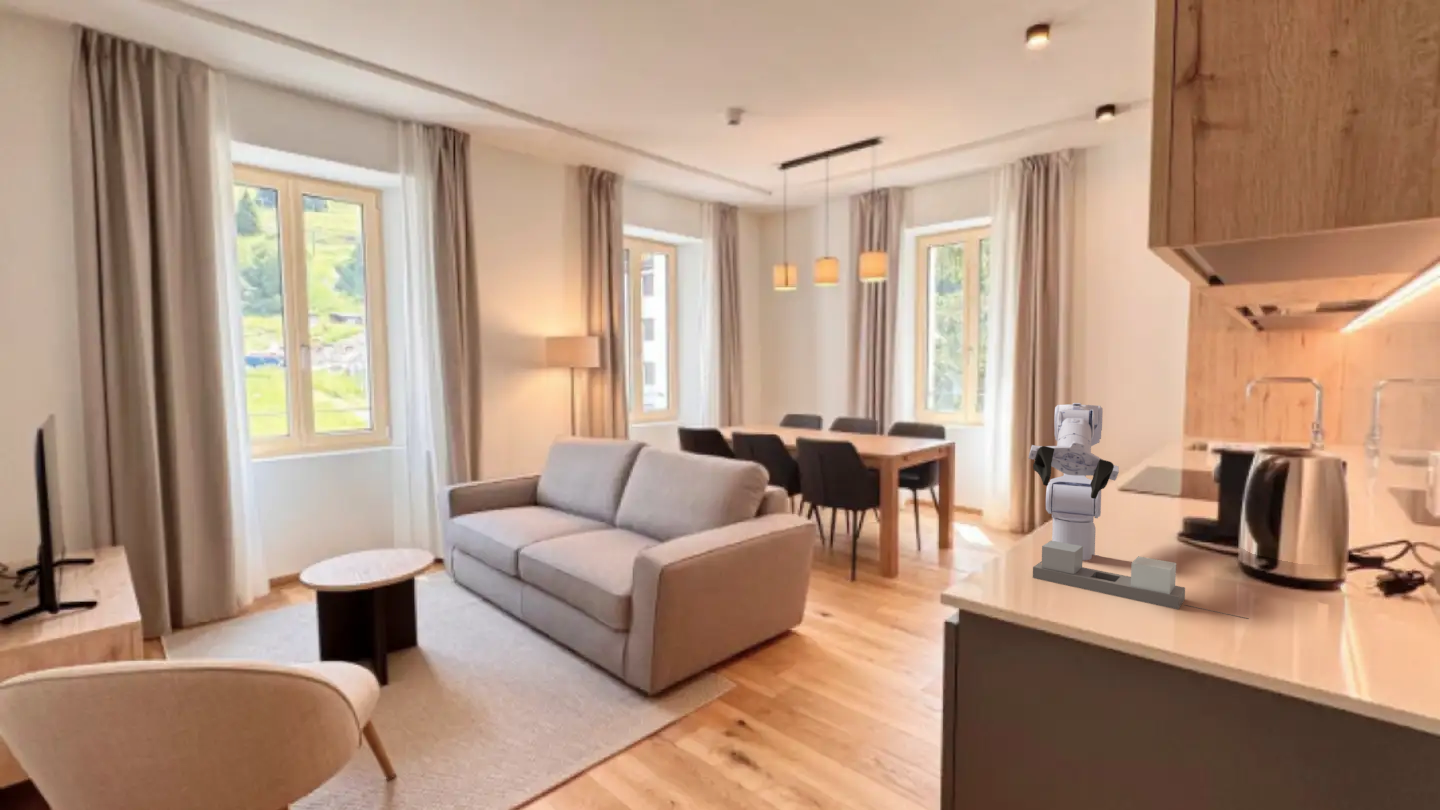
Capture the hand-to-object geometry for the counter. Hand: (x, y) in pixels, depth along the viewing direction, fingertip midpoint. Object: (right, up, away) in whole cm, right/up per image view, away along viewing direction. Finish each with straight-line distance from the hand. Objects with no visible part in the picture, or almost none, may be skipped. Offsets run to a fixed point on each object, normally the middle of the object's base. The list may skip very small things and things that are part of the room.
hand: (1070, 487), depth 111 cm
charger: (+11, -18, -4) cm, 22 cm away
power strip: (+9, -19, -2) cm, 21 cm away
